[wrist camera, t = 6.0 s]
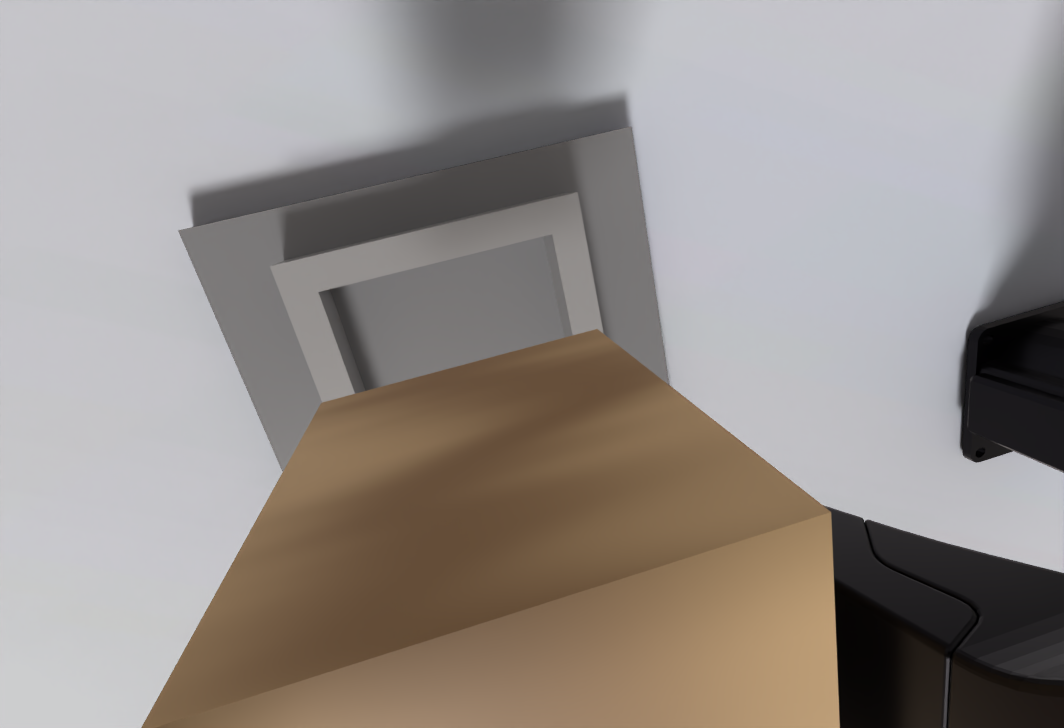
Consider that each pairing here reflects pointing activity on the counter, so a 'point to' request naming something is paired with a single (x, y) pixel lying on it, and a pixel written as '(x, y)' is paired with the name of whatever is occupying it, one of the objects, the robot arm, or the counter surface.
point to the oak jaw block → (521, 565)
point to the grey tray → (431, 276)
